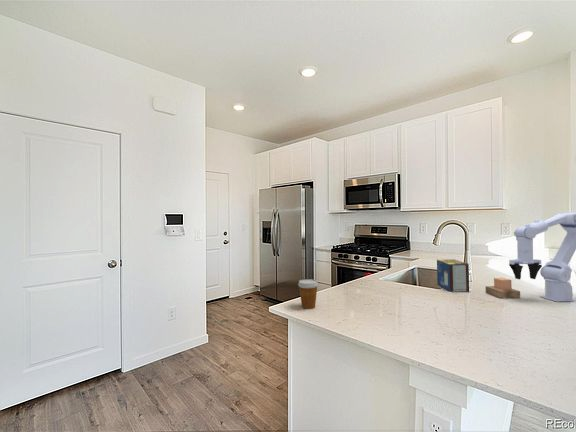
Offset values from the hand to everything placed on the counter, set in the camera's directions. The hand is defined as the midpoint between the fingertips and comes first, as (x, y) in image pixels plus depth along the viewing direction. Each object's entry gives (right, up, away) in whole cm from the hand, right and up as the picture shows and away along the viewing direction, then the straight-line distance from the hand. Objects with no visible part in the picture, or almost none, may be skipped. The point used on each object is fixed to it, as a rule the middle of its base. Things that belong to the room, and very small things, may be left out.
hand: (525, 278), depth 132 cm
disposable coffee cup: (-107, -12, -4) cm, 107 cm away
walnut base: (-5, -11, +8) cm, 14 cm away
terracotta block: (-5, -7, +8) cm, 12 cm away
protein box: (-22, -11, +23) cm, 34 cm away
